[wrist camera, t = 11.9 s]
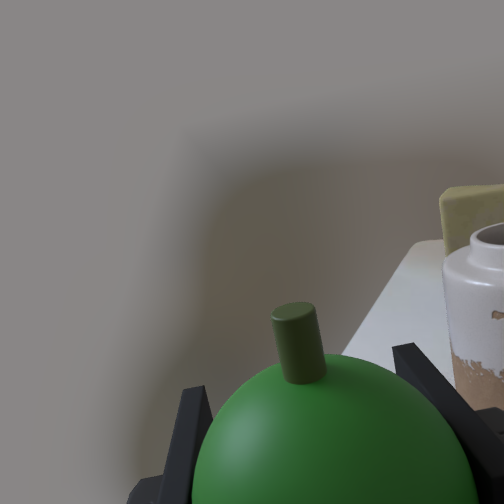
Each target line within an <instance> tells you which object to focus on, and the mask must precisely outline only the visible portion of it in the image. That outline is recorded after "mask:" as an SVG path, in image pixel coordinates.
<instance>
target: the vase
mask: <svg viewBox="0 0 504 504" xmlns="http://www.w3.org/2000/svg"><path fill="white" fill-rule="evenodd" d="M442 281H443V289H444V297H445V305H446V314H447V322H448V330H449V338H450V346H451V354H452V362H453V371H454V379H455V386H456V391H457V392H458V393H459V394H460V395H461V396H462V398H463V399H464V400H465V401H466V402H467V403H468V404H469V405H470V407H471V408H472V409H473V410H474V411H476V410H481V409H486V408H491V407H497V408H499V409H501V410H504V222H503V223H498V224H494V225H491V226H487V227H484V228H482V229H479V230H477V231H476V232H474V233H473V234H472V235H471V237H470V245H468V246H465V247H463V248H460V249H458V250H456V251H454V252H452V253H451V254H450V255H448V256H447V257H446V259H445V260H444V261H443V264H442Z"/></svg>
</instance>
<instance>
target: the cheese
mask: <svg viewBox="0 0 504 504" xmlns="http://www.w3.org/2000/svg"><path fill="white" fill-rule="evenodd" d="M439 205H440V213H441V222H442V230H443V238H444V246H445V255H446V257H447V256H448V255H450V254H451V253H452V252H454V251H456V250H458V249H460V248H463V247H465V246H468V245H470V237H471V235H472V234H473V233H474V232H476V231H477V230H479V229H482V228H484V227H487V226H491V225H494V224H498V223H503V222H504V184H497V185H478V186H459V187H451V188H449V189H447V190H446V191H445V192H444V193H443V194H442V195H441V196H440V199H439Z"/></svg>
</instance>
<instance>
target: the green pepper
mask: <svg viewBox="0 0 504 504" xmlns="http://www.w3.org/2000/svg"><path fill="white" fill-rule="evenodd" d="M271 321H272V326H273V331H274V336H275V340H276V345H277V350H278V354H279V358H280V363H277V364H275V365H273V366H270V367H268V368H266V369H265V370H263V371H261V372H260V373H258V374H257V375H255V376H254V377H252V378H251V379H250V380H248V381H247V382H246V383H244V384H243V385H242V386H241V387H240V388H239V389H238V390H237V391H236V392H235V393H234V394H233V395H232V396H231V397H230V398H229V399H228V400H227V401H226V403H225V404H224V405H223V407H222V408H221V409H220V411H219V412H218V414H217V415H216V417H215V418H214V420H213V422H212V424H211V425H210V427H209V429H208V432H207V434H206V436H205V438H204V441H203V443H202V446H201V449H200V452H199V456H198V459H197V463H196V467H195V473H194V479H193V489H192V504H479V498H478V493H477V488H476V484H475V480H474V477H473V473H472V470H471V468H470V465H469V462H468V460H467V457H466V455H465V453H464V451H463V448H462V446H461V444H460V443H459V441H458V439H457V437H456V435H455V434H454V432H453V430H452V428H451V427H450V426H449V424H448V423H447V422H446V420H445V419H444V418H443V416H442V415H441V414H440V412H439V411H438V410H437V409H436V407H435V406H434V405H433V404H432V403H431V402H430V401H429V400H428V399H427V398H426V397H425V396H424V395H423V394H422V393H420V392H419V391H418V390H417V389H416V388H415V387H414V386H412V385H411V384H409V383H408V382H407V381H405V380H404V379H402V378H401V377H399V376H398V375H396V374H395V373H393V372H391V371H389V370H387V369H385V368H383V367H380V366H378V365H376V364H374V363H371V362H368V361H365V360H362V359H358V358H353V357H349V356H344V355H333V354H324V351H323V346H322V341H321V336H320V330H319V325H318V320H317V314H316V309H315V307H314V305H312V304H311V303H306V302H295V303H289V304H285V305H283V306H280V307H278V308H276V309H275V310H274V311H272V313H271Z"/></svg>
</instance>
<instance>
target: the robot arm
mask: <svg viewBox="0 0 504 504" xmlns="http://www.w3.org/2000/svg"><path fill="white" fill-rule="evenodd" d="M392 350H393V357H394V363H395V370H396V375H398V376H399V377H401V378H402V379H404V380H405V381H407V382H408V383H409V384H411V385H412V386H414V387H415V388H416V389H417V390H418V391H419V392H420V393H422V394H423V395H424V396H425V397H426V398H427V399H428V400H429V401H430V402H431V403H432V404H433V405H434V406H435V407H436V409H437V410H438V411H439V412H440V414H441V415H442V416H443V418H444V419H445V420H446V422H447V423H448V424H449V426H450V427H451V428H452V430H453V432H454V434H455V435H456V437H457V439H458V441H459V443H460V444H461V446H462V448H463V451H464V453H465V455H466V457H467V460H468V462H469V465H470V468H471V470H472V473H473V477H474V480H475V484H476V488H477V493H478V498H479V504H504V410H501V409H499V408H497V407H491V408H486V409H481V410H476V411H474V410H473V409H472V408H471V407H470V405H469V404H468V403H467V402H466V401H465V400H464V399H463V398H462V396H461V395H460V394H459V393H458V392H457V391H456V390H455V389H454V387H453V386H452V385H451V384H450V383H449V382H448V381H447V379H446V378H445V377H444V376H443V375H442V374H441V373H440V372H439V370H438V369H437V368H436V367H435V366H434V365H433V364H432V363H431V361H430V360H429V359H428V358H427V357H426V356H425V355H424V354H423V352H422V351H421V350H420V349H419V348H418V347H417V346H416V345H415V343H414V342H413V343H408V344H404V345H399V346H394V347H392ZM212 422H213V418H212V414H211V410H210V406H209V402H208V398H207V394H206V390H205V386H204V385H203V386H199V387H194V388H189V389H184V390H183V392H182V396H181V401H180V405H179V409H178V413H177V418H176V422H175V427H174V430H173V435H172V439H171V443H170V448H169V452H168V456H167V461H166V465H165V469H164V473H163V475H159V476H154V477H150V478H145V479H141V480H140V481H139V482H138V484H137V485H136V486H135V487H134V489H133V490H132V492H131V493H130V494H129V498H128V501H127V504H192V489H193V479H194V473H195V467H196V463H197V459H198V456H199V452H200V449H201V446H202V443H203V441H204V438H205V436H206V434H207V432H208V429H209V427H210V425H211V424H212Z"/></svg>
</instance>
